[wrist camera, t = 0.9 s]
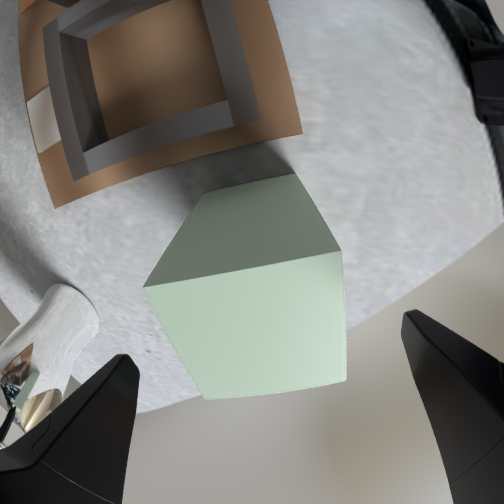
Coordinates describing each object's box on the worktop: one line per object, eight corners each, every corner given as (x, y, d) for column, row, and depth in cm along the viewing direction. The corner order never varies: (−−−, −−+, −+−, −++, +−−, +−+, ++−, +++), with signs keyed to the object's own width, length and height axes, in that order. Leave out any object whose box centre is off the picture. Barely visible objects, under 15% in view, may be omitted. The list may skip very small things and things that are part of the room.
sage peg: (295, 173, 16) (341, 250, 7) (310, 255, 18) (346, 380, 9) (203, 193, 17) (142, 287, 8) (227, 271, 19) (204, 399, 10)
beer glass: (40, 310, 22) (-37, 421, 8) (50, 263, 19) (-59, 391, 6) (94, 350, 24) (34, 476, 10) (113, 310, 21) (32, 469, 8)
